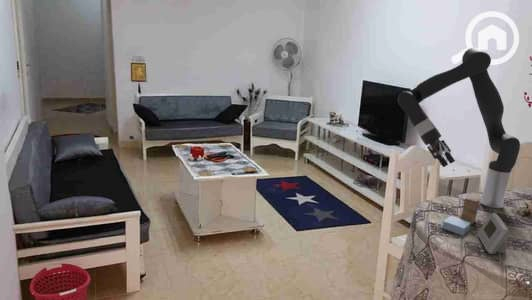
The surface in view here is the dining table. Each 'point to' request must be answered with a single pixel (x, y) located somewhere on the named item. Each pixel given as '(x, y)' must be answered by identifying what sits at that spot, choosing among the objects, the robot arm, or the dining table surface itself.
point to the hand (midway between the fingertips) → (449, 164)
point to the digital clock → (494, 234)
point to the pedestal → (456, 225)
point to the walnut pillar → (470, 209)
